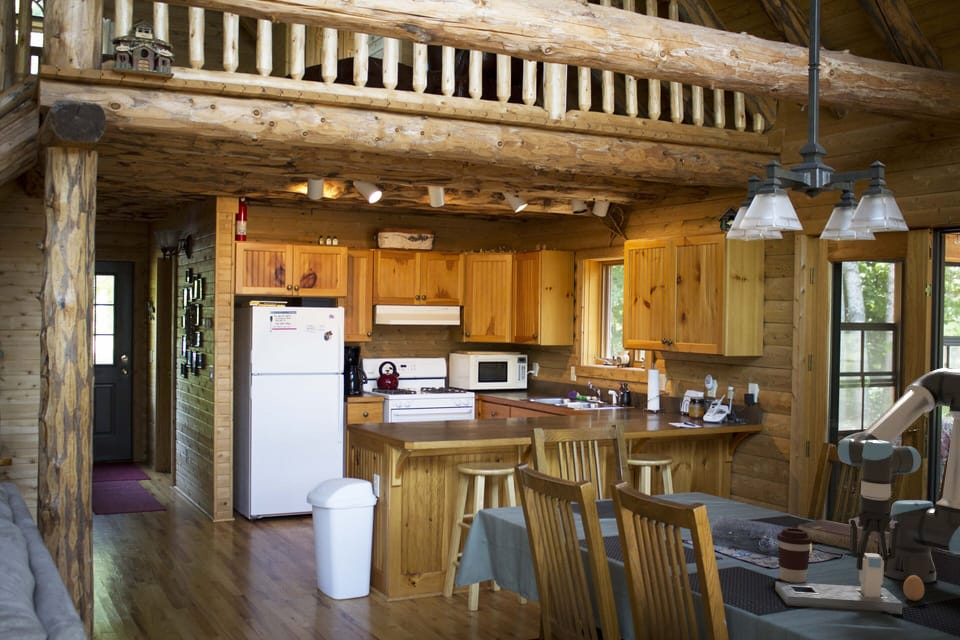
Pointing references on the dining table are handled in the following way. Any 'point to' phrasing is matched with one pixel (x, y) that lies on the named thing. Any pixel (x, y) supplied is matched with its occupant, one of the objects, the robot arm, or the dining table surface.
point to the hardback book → (840, 535)
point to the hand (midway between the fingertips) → (870, 582)
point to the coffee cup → (793, 554)
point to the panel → (836, 597)
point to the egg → (913, 588)
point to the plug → (872, 575)
